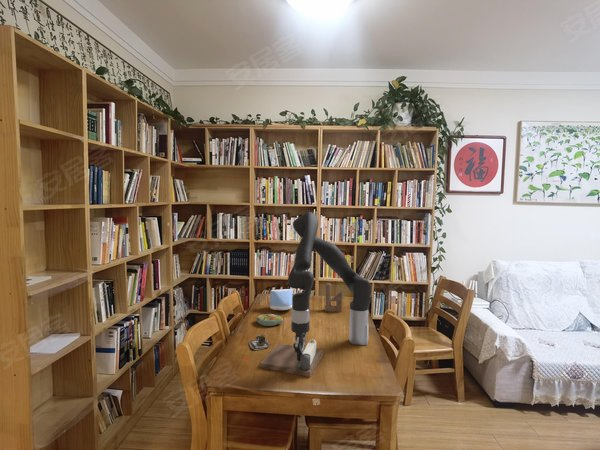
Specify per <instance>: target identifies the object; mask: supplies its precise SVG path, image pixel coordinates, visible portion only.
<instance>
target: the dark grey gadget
mask: <svg viewBox="0 0 600 450" xmlns="http://www.w3.org/2000/svg"><path fill="white" fill-rule="evenodd" d="M249 346H250V348H251V349H252V350H254V351H259V350H260V351H261V350H264V349H267V348H269V347H270V342H269V340H268V339H266V336H265V334H257V335H255V339H253V340H250V341H249Z"/></svg>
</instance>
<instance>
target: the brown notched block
mask: <svg viewBox="0 0 600 450" xmlns="http://www.w3.org/2000/svg"><path fill="white" fill-rule="evenodd" d="M332 302H336V303H335V305H334V304H332ZM324 311H325V312H331V313H333V312H334V313H342V312H343V289H341V290H340V291H339V292H338V293H336V294H335V295H334V296H333V297H332V284H331V283H330V282H329V283H325V307H324Z"/></svg>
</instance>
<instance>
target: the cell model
mask: <svg viewBox="0 0 600 450" xmlns="http://www.w3.org/2000/svg"><path fill="white" fill-rule="evenodd" d="M256 322H257V324H259V325H261V326H265V327H274V326H277V325H280V324H282V323H283V322H284V319H283V317H281V315H279V314H272V313H265V314H260V315H258V316H256Z"/></svg>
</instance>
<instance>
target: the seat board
mask: <svg viewBox="0 0 600 450" xmlns="http://www.w3.org/2000/svg"><path fill="white" fill-rule="evenodd" d="M305 348H306V347H304V350H305ZM304 350H303V352H304ZM266 355H267V356H266V357H264V359H262V361H261V362H260V364H259V365H260V366H259V368H261V369H266V370H270V371H271V370H272V371H277V372H283V373H287V374H292V375H297V376H302V377H303V376H304V377H308V378H311V377H312V375H313V373H314V371H315V370H316V368H317V366H318V365H319V363H320V361H321V359H322V358H323V356H324V350H323V349H317V348H316V354H315V356H314V358H313V361H312V363H311V365H310V369H309V370H302V369H301V368H300V361H297V353H296V352H295V349H294V346H293V345H290V344H286V343H285V344H284V343H278V344H277V345H276V346H275V347H274V348H273V349H272V350H271V351H270V352H269V353H268V354H266Z"/></svg>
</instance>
